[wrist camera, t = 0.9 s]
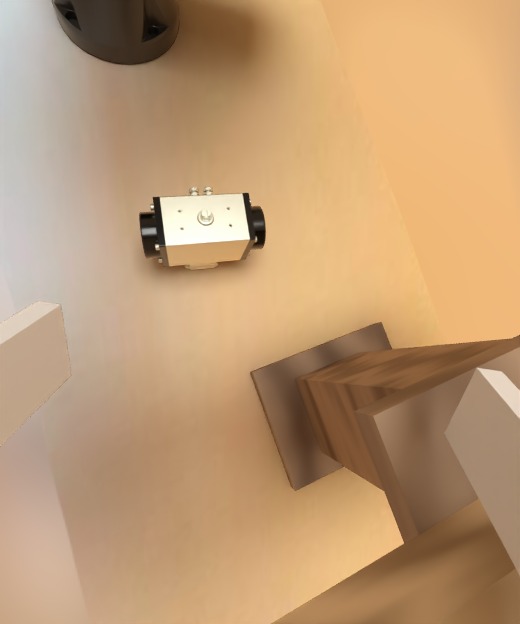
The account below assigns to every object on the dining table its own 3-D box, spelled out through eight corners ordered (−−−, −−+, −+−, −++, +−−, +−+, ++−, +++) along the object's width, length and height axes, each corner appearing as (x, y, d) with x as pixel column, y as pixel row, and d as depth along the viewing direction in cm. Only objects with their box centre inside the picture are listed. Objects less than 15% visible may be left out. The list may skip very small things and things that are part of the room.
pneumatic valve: (250, 270, 43) (273, 233, 31) (153, 279, 40) (140, 243, 28) (243, 228, 43) (264, 177, 32) (148, 234, 41) (132, 181, 29)
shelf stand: (283, 490, 39) (513, 779, 12) (242, 375, 40) (363, 390, 13) (421, 421, 44) (809, 510, 17) (381, 321, 45) (682, 248, 18)
